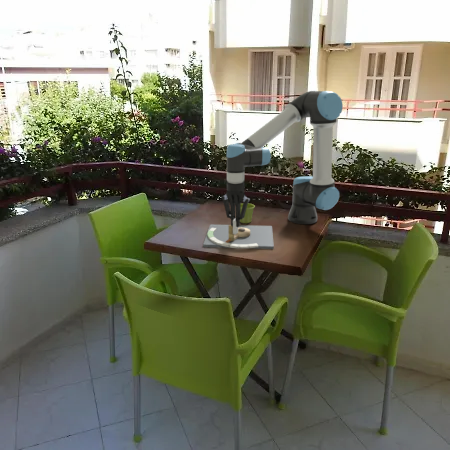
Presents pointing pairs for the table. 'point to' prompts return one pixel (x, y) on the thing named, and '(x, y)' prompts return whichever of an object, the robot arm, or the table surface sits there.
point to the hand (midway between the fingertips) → (235, 233)
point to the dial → (241, 233)
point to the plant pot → (247, 213)
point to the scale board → (258, 237)
